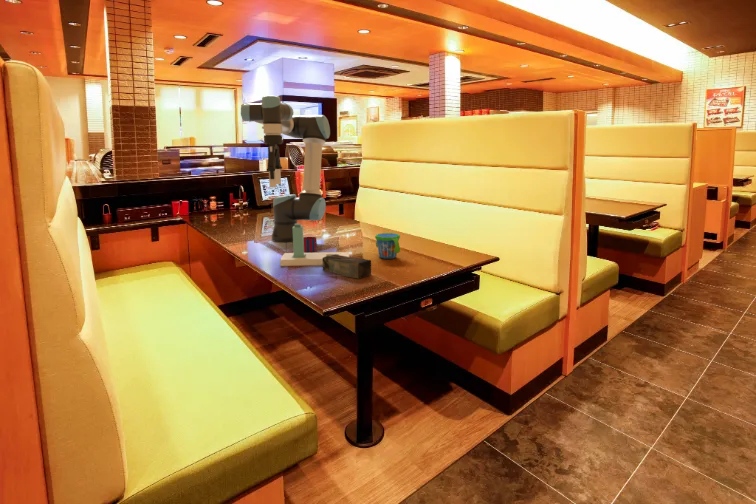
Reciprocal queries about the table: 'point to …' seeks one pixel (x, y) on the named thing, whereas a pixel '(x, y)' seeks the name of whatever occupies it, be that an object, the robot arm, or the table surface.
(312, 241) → the cup
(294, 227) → the plug
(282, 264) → the socket panel
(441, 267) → the table surface
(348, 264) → the beverage carton
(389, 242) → the sippy cup
